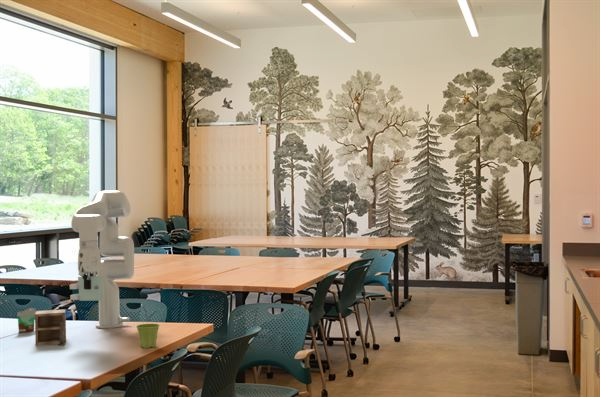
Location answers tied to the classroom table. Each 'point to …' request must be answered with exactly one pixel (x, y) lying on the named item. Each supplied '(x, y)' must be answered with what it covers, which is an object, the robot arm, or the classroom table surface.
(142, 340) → the plant pot
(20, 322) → the food container
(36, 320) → the cabinet
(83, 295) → the door
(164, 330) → the classroom table surface
